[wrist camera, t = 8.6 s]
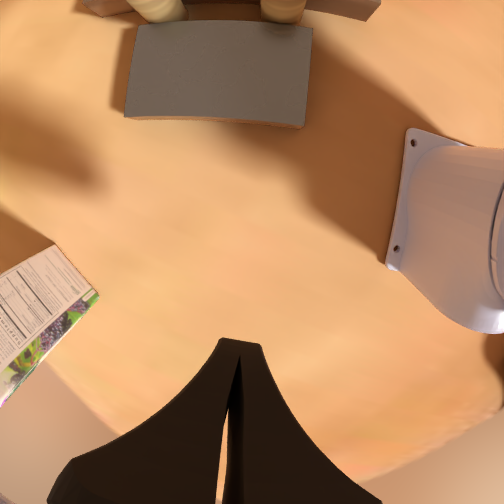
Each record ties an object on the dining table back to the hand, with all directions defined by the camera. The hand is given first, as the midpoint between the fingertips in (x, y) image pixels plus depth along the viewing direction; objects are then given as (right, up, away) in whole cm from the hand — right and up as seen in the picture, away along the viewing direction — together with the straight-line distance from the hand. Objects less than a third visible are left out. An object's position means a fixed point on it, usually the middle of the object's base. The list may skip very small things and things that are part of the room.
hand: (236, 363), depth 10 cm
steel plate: (-1, +14, +6) cm, 16 cm away
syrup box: (-15, +1, +11) cm, 19 cm away
